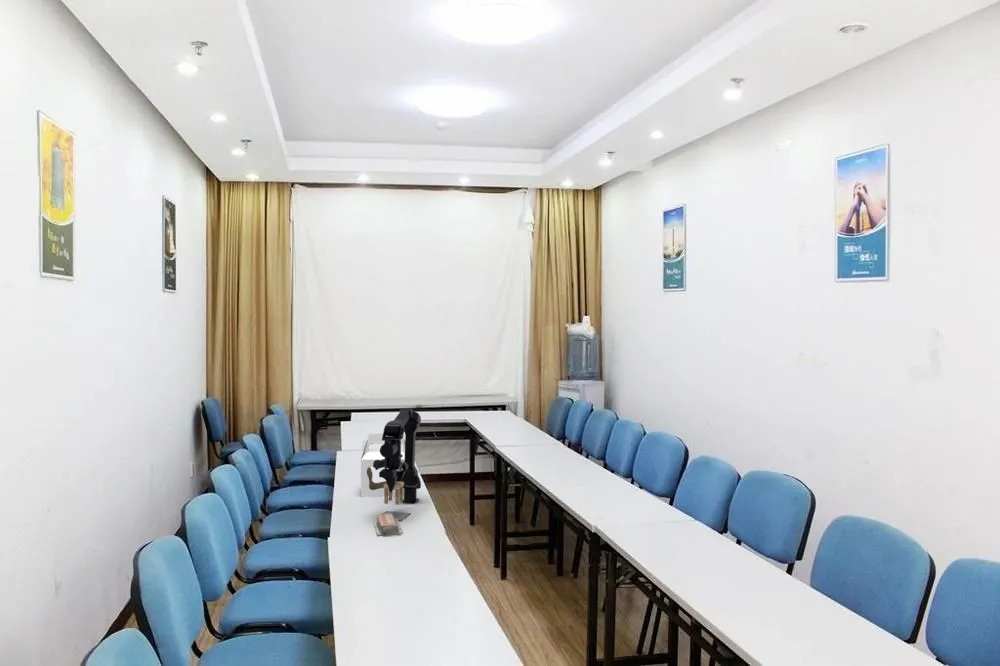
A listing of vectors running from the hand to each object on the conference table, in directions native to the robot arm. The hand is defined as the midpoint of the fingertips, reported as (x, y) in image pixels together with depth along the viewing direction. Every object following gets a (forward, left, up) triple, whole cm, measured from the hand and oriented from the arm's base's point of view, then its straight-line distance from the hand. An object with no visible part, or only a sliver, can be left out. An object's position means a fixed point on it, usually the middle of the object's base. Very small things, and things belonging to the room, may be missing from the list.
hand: (393, 489), depth 307 cm
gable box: (-35, -17, -12) cm, 41 cm away
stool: (0, 0, -5) cm, 5 cm away
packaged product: (+17, +4, -12) cm, 21 cm away
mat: (0, 0, -11) cm, 11 cm away
